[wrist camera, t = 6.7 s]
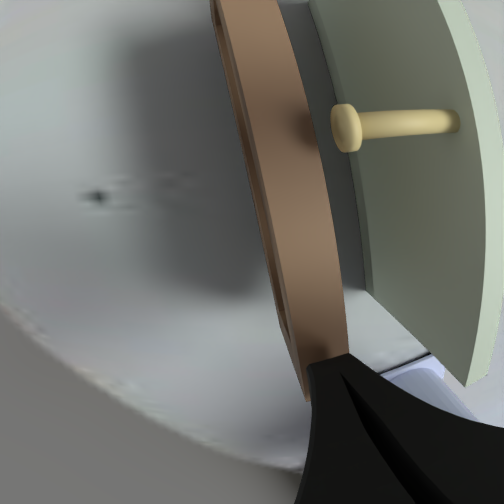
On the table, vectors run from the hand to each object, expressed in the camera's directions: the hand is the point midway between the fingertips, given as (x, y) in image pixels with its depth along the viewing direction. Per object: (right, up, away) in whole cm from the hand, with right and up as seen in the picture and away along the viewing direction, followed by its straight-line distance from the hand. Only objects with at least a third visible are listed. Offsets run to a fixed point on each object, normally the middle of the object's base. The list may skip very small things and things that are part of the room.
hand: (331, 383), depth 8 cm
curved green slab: (+3, +10, +7) cm, 13 cm away
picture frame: (-2, +8, +5) cm, 10 cm away
